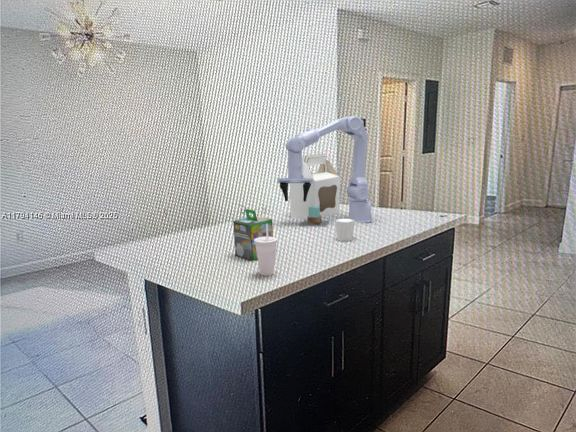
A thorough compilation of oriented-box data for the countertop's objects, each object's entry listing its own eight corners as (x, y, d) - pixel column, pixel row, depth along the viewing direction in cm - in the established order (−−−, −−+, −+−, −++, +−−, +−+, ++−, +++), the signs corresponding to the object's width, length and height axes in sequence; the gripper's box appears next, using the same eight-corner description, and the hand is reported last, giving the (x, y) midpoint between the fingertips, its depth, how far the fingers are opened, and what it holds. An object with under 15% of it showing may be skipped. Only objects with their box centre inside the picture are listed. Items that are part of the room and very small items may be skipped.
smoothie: (272, 278, 108) (271, 227, 105) (251, 275, 110) (248, 225, 107) (281, 270, 114) (280, 221, 111) (261, 268, 116) (259, 220, 113)
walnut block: (321, 222, 172) (321, 215, 171) (319, 224, 167) (319, 217, 167) (309, 221, 173) (309, 215, 173) (307, 224, 168) (307, 217, 168)
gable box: (314, 221, 176) (314, 156, 171) (290, 218, 184) (288, 155, 179) (339, 212, 194) (340, 153, 188) (316, 210, 202) (315, 153, 196)
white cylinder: (331, 238, 147) (331, 219, 146) (347, 235, 150) (347, 217, 149) (342, 242, 141) (342, 223, 140) (358, 240, 144) (358, 220, 143)
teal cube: (319, 215, 171) (319, 206, 170) (318, 217, 167) (318, 208, 166) (310, 215, 172) (310, 206, 171) (308, 217, 168) (308, 207, 167)
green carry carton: (274, 254, 129) (273, 208, 126) (252, 261, 123) (250, 213, 120) (256, 249, 136) (254, 205, 133) (234, 255, 129) (231, 209, 127)
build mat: (329, 221, 174) (329, 221, 174) (325, 227, 164) (325, 226, 164) (304, 221, 177) (304, 220, 177) (298, 226, 166) (298, 225, 166)
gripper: (275, 168, 161) (275, 202, 164) (310, 168, 158) (311, 203, 161) (279, 167, 168) (280, 199, 171) (314, 167, 165) (314, 200, 167)
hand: (295, 201), depth 166 cm, fingers open, 7 cm apart
